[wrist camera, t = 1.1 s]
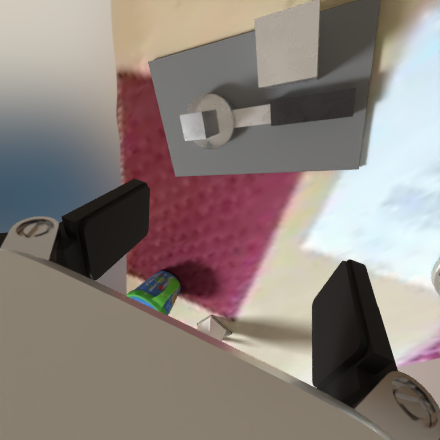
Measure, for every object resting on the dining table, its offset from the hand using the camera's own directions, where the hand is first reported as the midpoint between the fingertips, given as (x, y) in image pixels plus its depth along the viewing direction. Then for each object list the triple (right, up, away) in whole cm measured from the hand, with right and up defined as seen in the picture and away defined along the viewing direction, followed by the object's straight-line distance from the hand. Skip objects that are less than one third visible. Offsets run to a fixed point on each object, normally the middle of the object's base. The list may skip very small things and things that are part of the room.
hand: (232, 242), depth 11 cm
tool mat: (+3, +16, +21) cm, 26 cm away
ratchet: (+5, +15, +19) cm, 25 cm away
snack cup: (-13, -14, +46) cm, 50 cm away
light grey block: (+8, +20, +16) cm, 26 cm away
